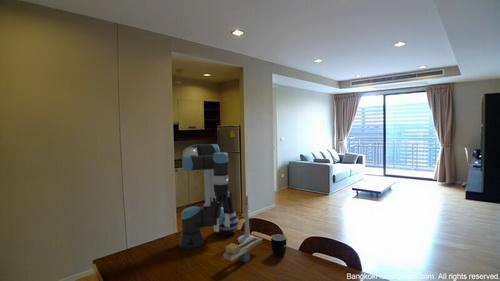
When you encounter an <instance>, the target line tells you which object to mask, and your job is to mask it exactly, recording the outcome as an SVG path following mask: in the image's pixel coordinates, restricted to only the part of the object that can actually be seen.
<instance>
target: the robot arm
mask: <svg viewBox="0 0 500 281" xmlns="http://www.w3.org/2000/svg"><path fill="white" fill-rule="evenodd" d="M181 160H182V161H181V162H182V170H183V171H187V172H188V171H189V172H190V171H202V170H203V179H204V182H203V183H204V202H205V203H204V204H203V205H202V208H200V206H189V207H186V208H184V209H183V210H182V211H181V217H180V218H181V219H180V220H181V235H180V240H179V242H178V243H179V244H178V246H179V248H180V249H181V250H188V251H189V250H195V249H198V248H201V247H202V246H203V245H204V238H203V235H202V231H201V228H208V227H209V228H210V227H213V231H214V232H216V233H220V231H219V225H221V224H222V222H223V217H224V209H223V207H222V205H224V208H225V211H226V213H225V226H227V227H230V214H232V212H231V211H233V209H234V206H233V198H232V197H233V192H230V191H229V188H230V187H229V186H230V185H229V160H230V159H229V153H228V152H222V151H221V150H220V146H219V145H218V144H217V143H200V144H192V145H188V146H187V147H186V148H184V150H183V151H182V159H181ZM228 191H229V192H230V193H229V192H228ZM230 208H231V209H230Z"/></svg>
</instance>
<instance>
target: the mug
mask: <svg viewBox="0 0 500 281" xmlns="http://www.w3.org/2000/svg"><path fill="white" fill-rule="evenodd" d="M270 244H271V251H272V254H273V256H274V257H276V258H283V257H284V256H285V255H286V252H287V251H286V250H287V236H286V235H284V234H279V233H277V234H273V235H271V236H270Z"/></svg>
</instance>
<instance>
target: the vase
mask: <svg viewBox="0 0 500 281" xmlns="http://www.w3.org/2000/svg"><path fill="white" fill-rule="evenodd" d="M228 192H229V193H231V192H230V191H228ZM221 207H223V209H224V217H223V222H222V224H221V225H219V233H221V234H223V235H227V234H228V235H232V234H233V233H235V232H236V231H237V230H238V228H239V226H240V224H239V222H240V221H239V218H238V215H237V213H236V211H235V209H234V208H233V211H231V212H232V214H230V227H227V226H225V213H226V211H225V208H224V205H223V204H221ZM230 209H231V208H230Z"/></svg>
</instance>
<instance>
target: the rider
mask: <svg viewBox="0 0 500 281" xmlns="http://www.w3.org/2000/svg"><path fill="white" fill-rule="evenodd" d="M225 252H227V253H230V254H231V255H232V254H233V255H234V254H236V253H238V252H240V246H239V244H235V243H234V242H233V243H232V242H231V243H230V244H227V245H226V246H225Z"/></svg>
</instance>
